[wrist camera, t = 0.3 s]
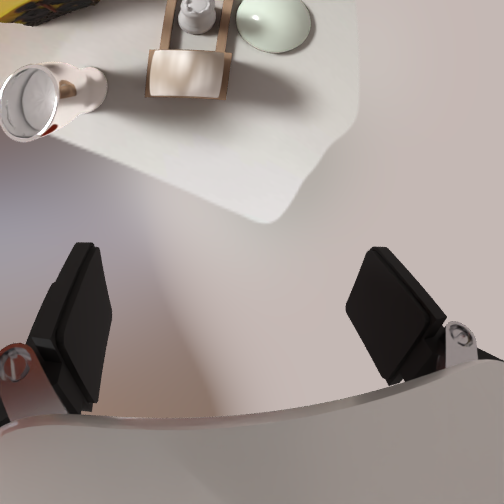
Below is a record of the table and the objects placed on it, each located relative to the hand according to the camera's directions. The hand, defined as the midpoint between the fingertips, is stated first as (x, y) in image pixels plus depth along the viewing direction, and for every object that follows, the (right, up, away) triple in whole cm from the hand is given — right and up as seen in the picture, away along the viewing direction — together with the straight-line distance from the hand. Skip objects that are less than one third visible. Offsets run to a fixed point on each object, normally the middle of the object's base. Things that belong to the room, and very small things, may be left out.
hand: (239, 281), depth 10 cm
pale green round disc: (+3, +29, +17) cm, 34 cm away
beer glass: (-20, +21, +18) cm, 34 cm away
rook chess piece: (-6, +28, +16) cm, 33 cm away
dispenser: (-6, +26, +17) cm, 32 cm away
